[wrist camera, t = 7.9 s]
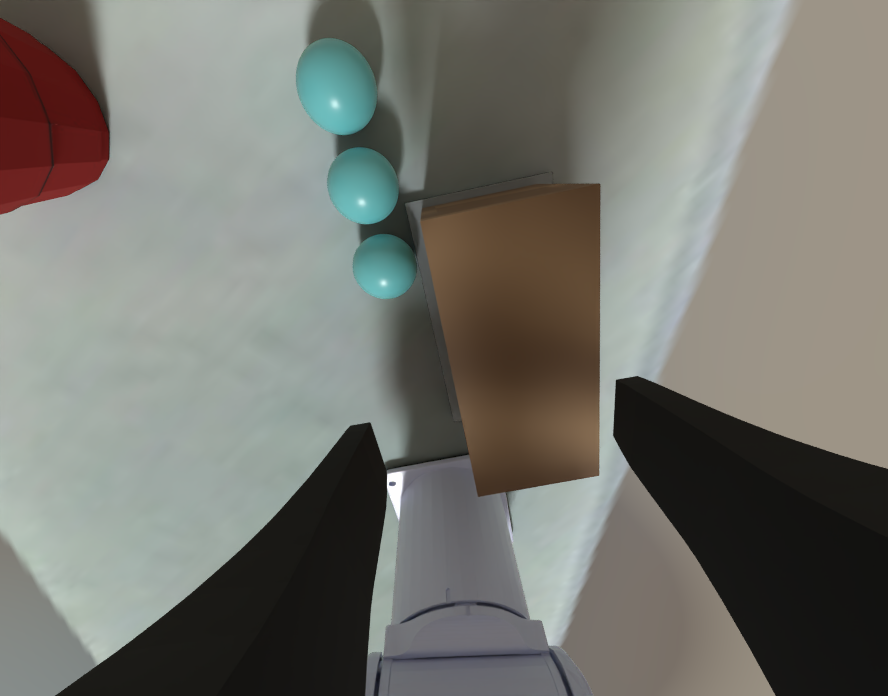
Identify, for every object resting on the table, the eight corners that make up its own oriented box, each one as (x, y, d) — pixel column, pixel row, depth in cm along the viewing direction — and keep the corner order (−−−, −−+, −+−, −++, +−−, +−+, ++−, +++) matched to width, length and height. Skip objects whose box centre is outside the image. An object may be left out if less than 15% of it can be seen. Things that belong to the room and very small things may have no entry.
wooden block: (551, 395, 21) (599, 475, 15) (463, 411, 22) (477, 497, 16) (536, 183, 16) (600, 183, 10) (422, 208, 16) (420, 221, 11)
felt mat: (561, 397, 22) (564, 401, 22) (453, 418, 22) (453, 422, 22) (549, 172, 16) (552, 171, 16) (405, 203, 17) (404, 203, 16)
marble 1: (407, 213, 17) (404, 219, 14) (347, 226, 17) (333, 234, 14) (391, 144, 16) (384, 135, 13) (327, 158, 16) (307, 152, 13)
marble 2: (423, 283, 18) (422, 300, 16) (368, 294, 18) (358, 313, 16) (410, 224, 17) (407, 231, 14) (351, 237, 17) (337, 246, 14)
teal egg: (389, 131, 15) (381, 119, 13) (323, 145, 15) (302, 137, 13) (370, 46, 14) (356, 13, 11) (299, 63, 14) (269, 34, 11)
